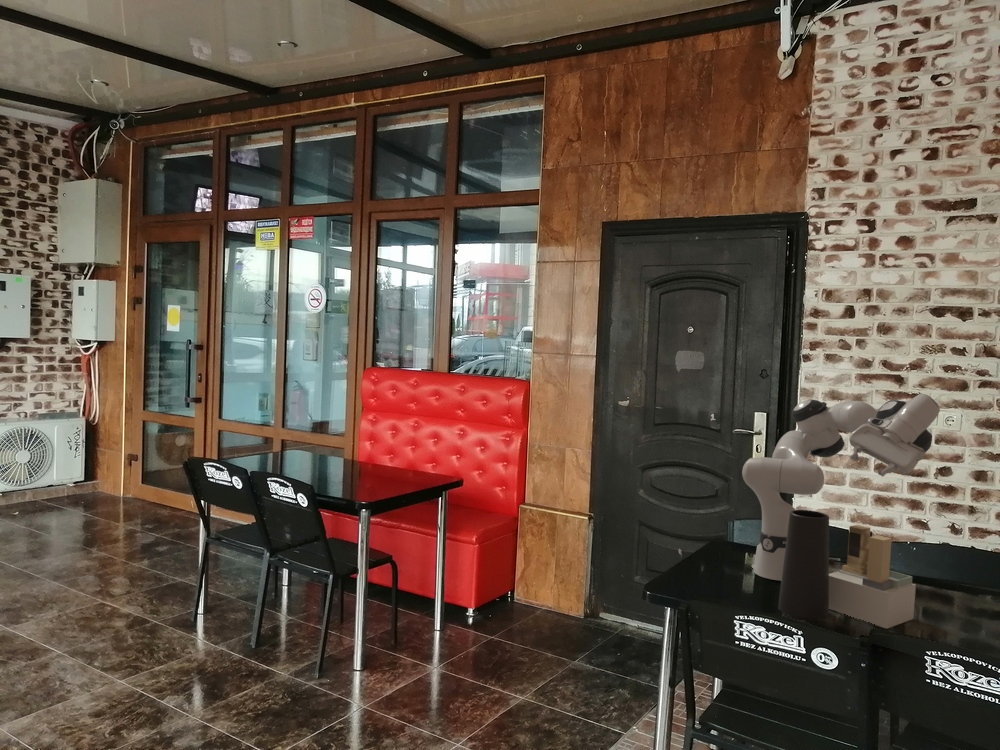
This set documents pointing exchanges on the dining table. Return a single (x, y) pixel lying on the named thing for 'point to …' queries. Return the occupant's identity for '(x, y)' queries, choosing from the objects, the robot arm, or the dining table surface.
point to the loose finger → (858, 550)
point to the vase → (806, 566)
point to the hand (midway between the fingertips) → (866, 466)
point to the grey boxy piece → (874, 589)
